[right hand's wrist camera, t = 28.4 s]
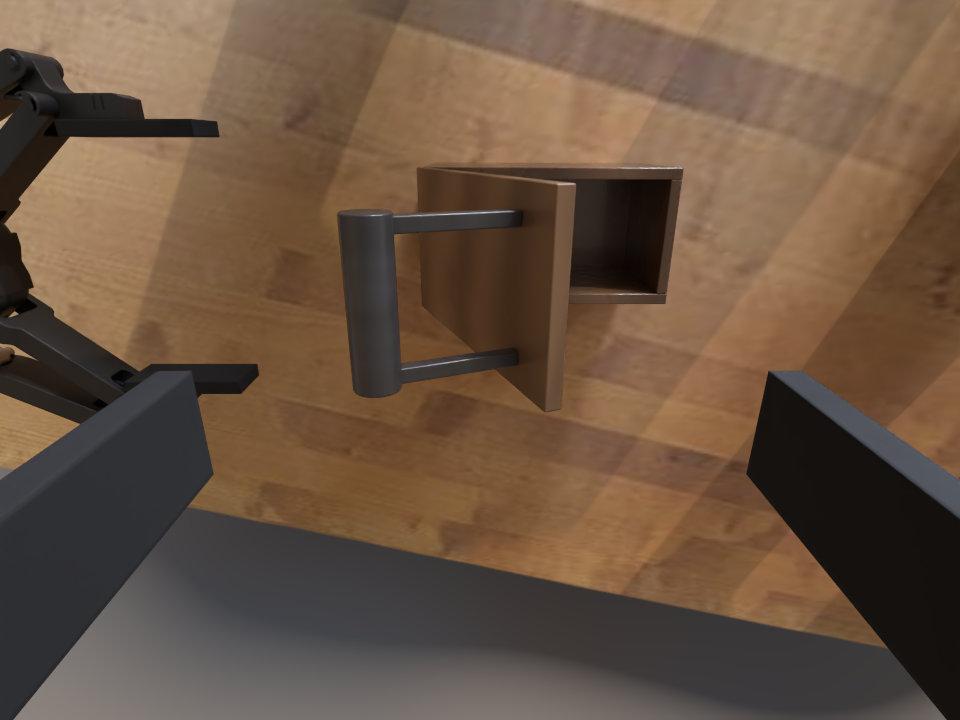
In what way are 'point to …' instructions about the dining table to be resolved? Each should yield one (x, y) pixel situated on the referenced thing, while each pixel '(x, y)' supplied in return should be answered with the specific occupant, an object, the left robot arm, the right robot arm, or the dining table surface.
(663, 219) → the chest
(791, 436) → the right robot arm
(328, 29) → the dining table surface
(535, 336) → the lid
